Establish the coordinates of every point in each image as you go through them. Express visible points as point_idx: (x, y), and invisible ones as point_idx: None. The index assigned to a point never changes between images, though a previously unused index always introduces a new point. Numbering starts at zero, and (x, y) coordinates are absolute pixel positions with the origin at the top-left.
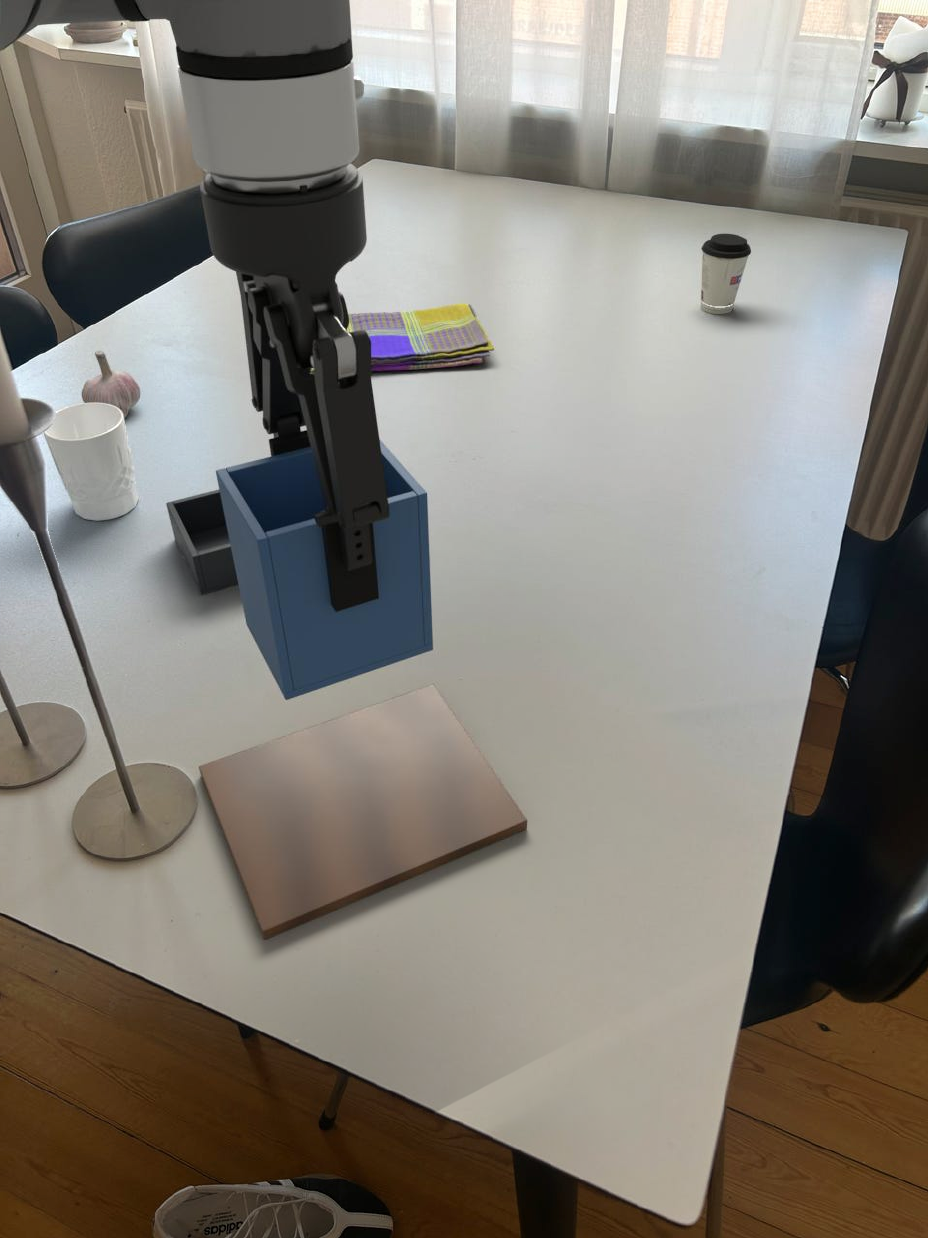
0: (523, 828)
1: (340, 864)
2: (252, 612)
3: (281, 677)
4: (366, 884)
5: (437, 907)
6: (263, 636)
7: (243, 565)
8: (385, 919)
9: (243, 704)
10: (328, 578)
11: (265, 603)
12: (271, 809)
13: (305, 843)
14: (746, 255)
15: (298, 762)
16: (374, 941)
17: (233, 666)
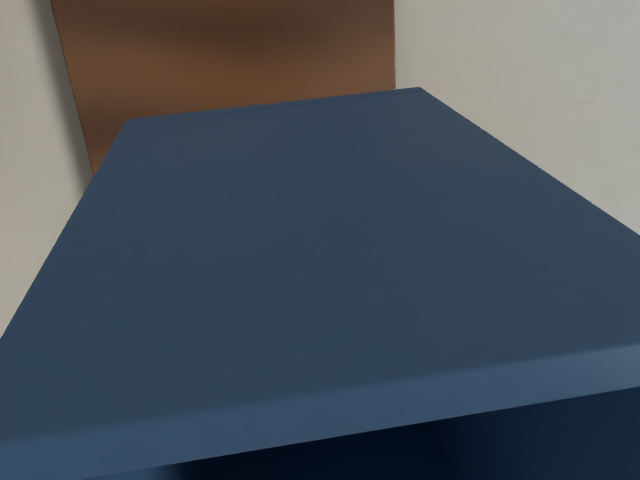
0: None
1: (125, 76)
2: (335, 128)
3: (117, 138)
4: (81, 101)
5: (40, 176)
6: (247, 133)
7: (370, 185)
8: (36, 108)
9: (501, 10)
10: None
11: (111, 221)
12: (259, 2)
13: (178, 36)
14: None
15: (334, 65)
16: (4, 84)
17: (588, 13)
